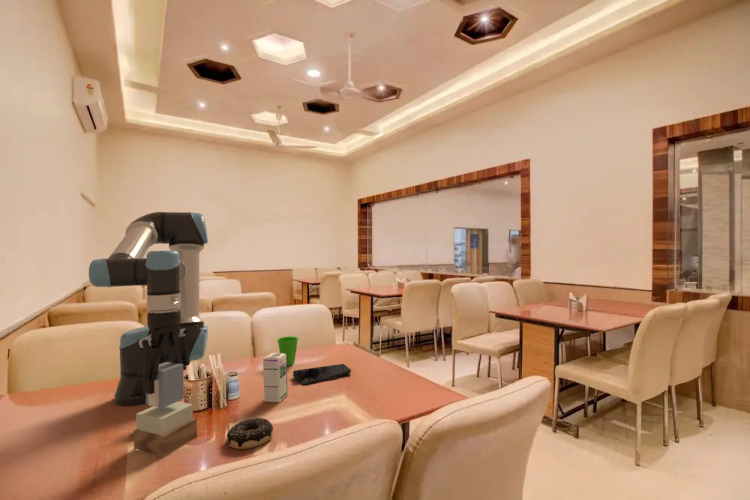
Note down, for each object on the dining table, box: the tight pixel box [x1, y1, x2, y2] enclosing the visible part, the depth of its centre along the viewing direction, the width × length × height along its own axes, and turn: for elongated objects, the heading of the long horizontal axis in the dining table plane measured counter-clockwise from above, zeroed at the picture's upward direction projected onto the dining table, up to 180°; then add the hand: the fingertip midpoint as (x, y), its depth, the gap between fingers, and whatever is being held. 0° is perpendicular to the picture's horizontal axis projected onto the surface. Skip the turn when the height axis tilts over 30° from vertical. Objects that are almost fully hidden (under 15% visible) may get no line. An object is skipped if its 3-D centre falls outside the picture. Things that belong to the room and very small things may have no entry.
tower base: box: [133, 417, 198, 458], centre depth 95 cm, size 10×10×5 cm
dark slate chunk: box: [292, 363, 352, 386], centre depth 145 cm, size 15×22×5 cm
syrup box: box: [262, 352, 288, 403], centre depth 123 cm, size 6×6×14 cm
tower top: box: [135, 401, 194, 436], centre depth 96 cm, size 9×9×4 cm
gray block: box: [145, 362, 185, 408], centre depth 95 cm, size 6×6×9 cm
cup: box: [276, 336, 300, 367], centre depth 160 cm, size 9×9×11 cm
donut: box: [226, 417, 274, 450], centre depth 97 cm, size 11×12×4 cm
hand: (165, 400), depth 95 cm, fingers closed on gray block, 6 cm apart
